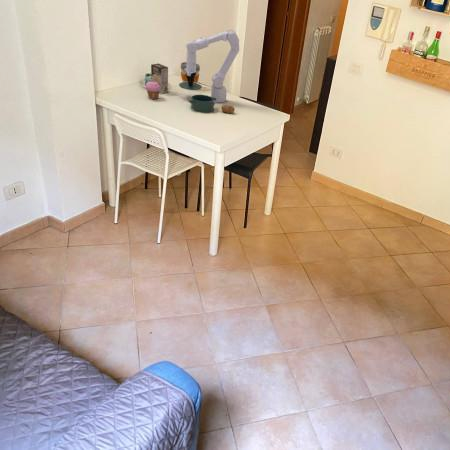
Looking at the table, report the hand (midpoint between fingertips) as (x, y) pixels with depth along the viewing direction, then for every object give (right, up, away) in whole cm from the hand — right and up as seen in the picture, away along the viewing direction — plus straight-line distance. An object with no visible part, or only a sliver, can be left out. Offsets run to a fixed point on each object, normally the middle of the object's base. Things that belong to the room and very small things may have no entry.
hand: (190, 84), depth 273 cm
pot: (+9, -17, -8) cm, 21 cm away
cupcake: (-22, -10, -6) cm, 25 cm away
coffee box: (-22, -2, +7) cm, 23 cm away
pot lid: (0, -1, 0) cm, 1 cm away
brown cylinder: (+24, -19, -6) cm, 32 cm away
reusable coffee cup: (-7, +6, +24) cm, 26 cm away
